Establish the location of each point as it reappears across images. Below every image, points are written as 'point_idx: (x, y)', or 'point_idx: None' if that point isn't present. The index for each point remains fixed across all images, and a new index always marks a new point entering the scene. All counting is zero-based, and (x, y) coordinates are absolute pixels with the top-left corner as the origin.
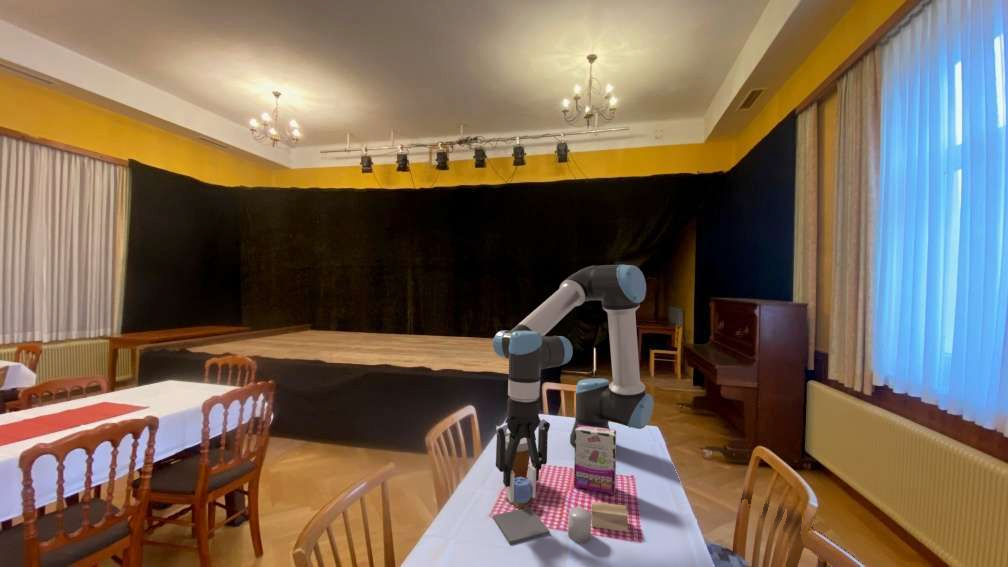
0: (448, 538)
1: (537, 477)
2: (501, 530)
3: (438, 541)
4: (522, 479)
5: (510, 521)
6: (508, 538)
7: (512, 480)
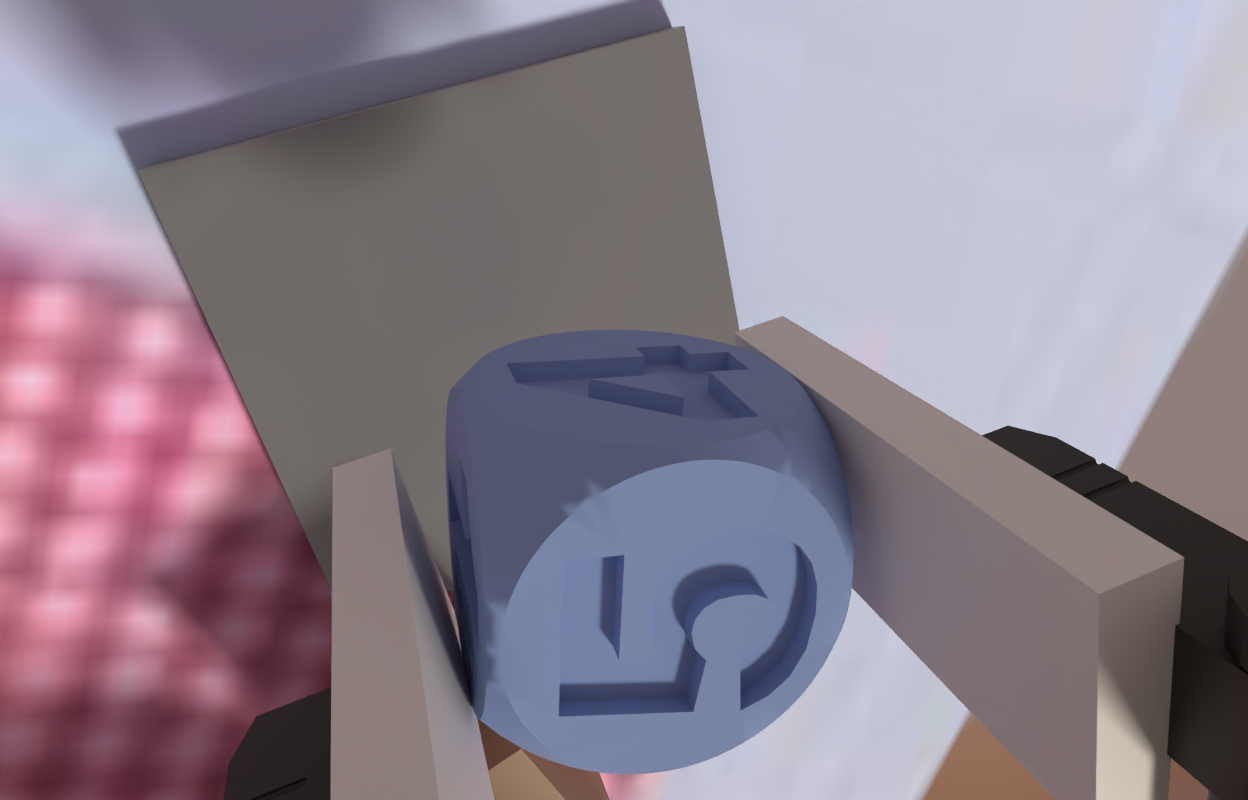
0: (1155, 189)
1: (269, 773)
2: (719, 251)
3: (1228, 157)
4: (632, 706)
5: None
6: (686, 82)
7: (1008, 477)
